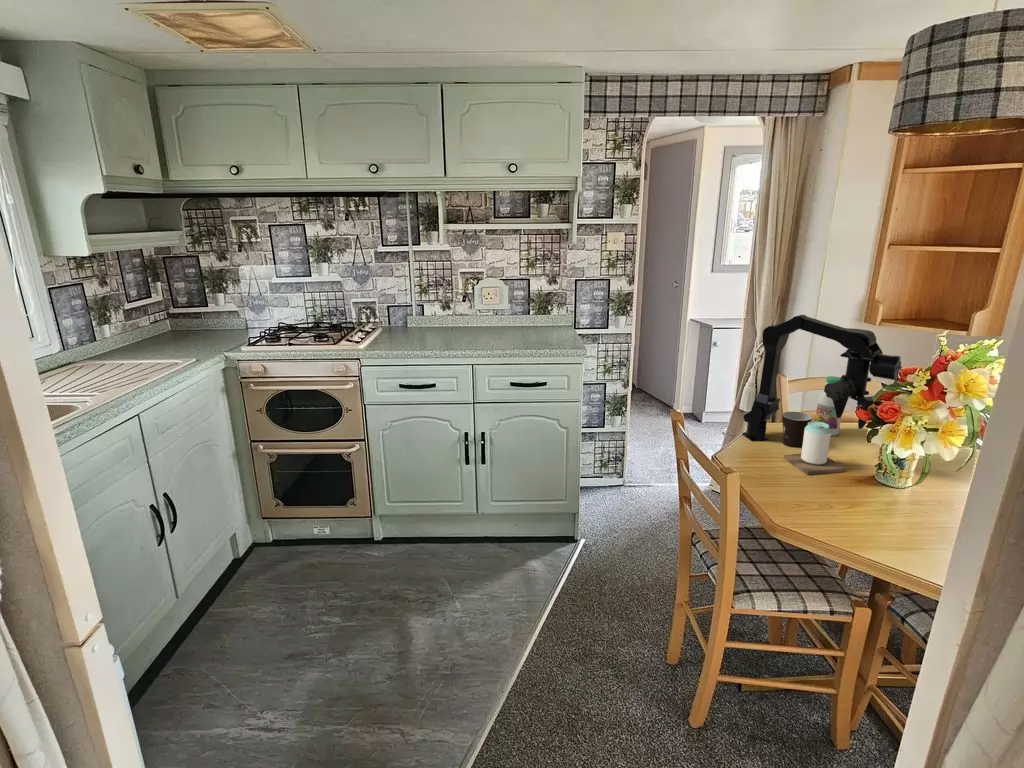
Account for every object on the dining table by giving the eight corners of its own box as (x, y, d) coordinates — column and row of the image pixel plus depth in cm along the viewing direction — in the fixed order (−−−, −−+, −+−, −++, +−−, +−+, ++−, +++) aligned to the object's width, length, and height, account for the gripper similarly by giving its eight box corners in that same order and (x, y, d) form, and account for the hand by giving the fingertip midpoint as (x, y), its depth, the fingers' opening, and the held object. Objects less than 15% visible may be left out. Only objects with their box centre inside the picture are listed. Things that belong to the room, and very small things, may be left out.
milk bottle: (819, 426, 205) (827, 373, 199) (842, 432, 200) (850, 377, 194) (809, 432, 201) (817, 377, 195) (832, 438, 195) (841, 382, 189)
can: (829, 460, 175) (835, 424, 172) (821, 468, 171) (827, 430, 167) (805, 454, 180) (810, 418, 177) (797, 461, 175) (801, 424, 172)
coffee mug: (804, 451, 185) (808, 422, 182) (776, 445, 190) (779, 417, 188) (812, 439, 194) (815, 412, 191) (784, 434, 199) (788, 407, 196)
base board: (783, 458, 180) (784, 455, 180) (818, 455, 182) (818, 452, 182) (807, 475, 169) (808, 471, 169) (844, 471, 171) (845, 468, 170)
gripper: (811, 366, 176) (805, 414, 181) (854, 384, 159) (846, 436, 163) (844, 364, 178) (837, 412, 182) (890, 381, 160) (881, 433, 165)
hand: (849, 422), depth 173 cm, fingers open, 9 cm apart
